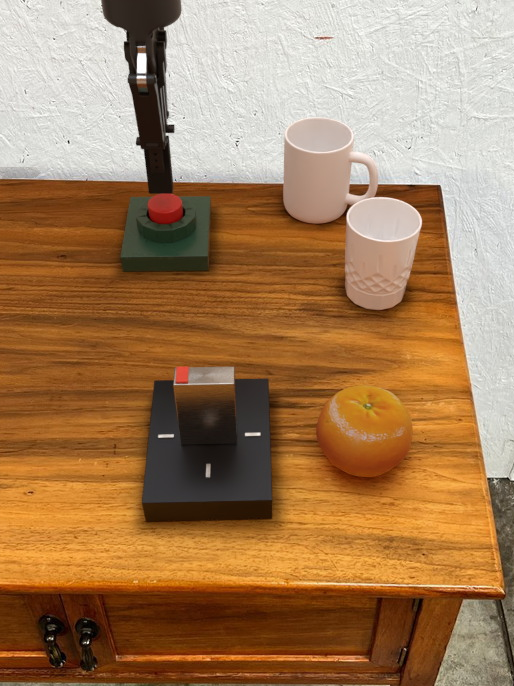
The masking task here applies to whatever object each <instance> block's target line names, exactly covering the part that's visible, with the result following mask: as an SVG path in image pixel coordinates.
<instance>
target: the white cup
mask: <svg viewBox="0 0 514 686" xmlns="http://www.w3.org/2000/svg"><path fill="white" fill-rule="evenodd" d="M345 221H346V222H345V245H344V246H345V248H344V273H345V278H344V279H345V280H344V281H345V282H344V288H345V293H346V296H347V297H348V299H350V301H351V302H352V303H354V304H355V305H357V306H359V307H361V308H363V309H366V310H374V311H383V310H387V309H392V308H394V307H395V306H396V305H398V304H399V303H401V302H402V300H403V298H404V295H405V293H406V289H407V285H408V281H409V279H410V276H411V271H412V268H413V264H414V260H415V256H416V251H417V247H418V243H419V238H420V235H421V230H422V225H423V218H422V216H421V214H420V212H419V211H418V210H417V209H416V208H415V207H414V206H412V205H411V204H409V203H407V202H406V201H403V200H401V199H397V198H393V197H386V196H384V197H383V196H376V197H375V196H374V198H368V199H364V200H361V201H359V202H357V203H355V204H354V205H351V206H350V207H349V209H347V212H346V220H345Z"/></svg>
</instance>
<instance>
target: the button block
mask: <svg viewBox="0 0 514 686" xmlns="http://www.w3.org/2000/svg"><path fill="white" fill-rule="evenodd" d="M152 197H153V196H130V197H129V204H128V209H127V215H126V219H125V220H126V221H125V226H124V233H123V238H122V243H121V244H122V245H121V251H120V256H119V258H120V264H121V270H122V272H123V273H125V272H128V273H129V272H130V273H131V272H202V271H205V272H207V271H208V272H209V269H210V250H211V231H212V230H211V229H212V228H211V227H212V199H211V195H200V196H199V195H198V196H197V195H196V196H193V195H192V196H191V195H189V196H188V195H187V196H185V195H184V196H178V197H179V198H180V199H181V200H182V207H183V217H182V218H181V220H180V221H177V222H175V223H172V224H157V223H155V222H152V221H151V219H150V218H149V211H148V201H149V200H150V199H151V198H152Z"/></svg>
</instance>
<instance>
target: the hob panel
mask: <svg viewBox="0 0 514 686" xmlns="http://www.w3.org/2000/svg"><path fill="white" fill-rule="evenodd" d="M269 381H270V380H269V378H235V388H236V411H237V444H194V445H181V439H180V432H179V424H178V417H177V409H176V402H175V394H174V386H173V382H174V379H160V380H159V379H158V380H157V379H156V380H153V390H152V399H151V408H150V409H151V410H150V419H149V427H148V428H149V429H148V438H147V446H146V447H147V448H146V457H145V467H144V477H143V485H142V494H141V495H142V496H141V506H142V511H143V517H144V521H145V523H164V522H165V523H166V522H169V523H170V522H204V521H205V522H207V521H209V522H210V521H211V522H212V521H250V520H251V521H253V520H273V501H274V500H273V477H272V476H273V473H272V472H273V471H272V444H271V442H272V441H271V412H270V411H271V410H270V387H269V386H270V382H269Z"/></svg>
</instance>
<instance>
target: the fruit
mask: <svg viewBox="0 0 514 686" xmlns="http://www.w3.org/2000/svg"><path fill="white" fill-rule="evenodd" d="M413 426H414V425H413V419H412V417H411V414H410V412H409V410H408V409H407V407H406V406H405V404H404V403H403V402H402V400H401V399H400V398H399V397H398V396H397V395H396V394H394V393H393V392H392V391H390V390H387V389H385V388H382V387H378V386H375V385H374V386H373V385H366V384H359V385H353V386H349V387H346V388H344V389H341V390H339V391H337V392H336V393H335V394H333V395H332V396H331V397H330V398H329V399H328V400H327V402H326V403H325V404H324V406H323V407H322V409H321V411H320V413H319V416H318V419H317V423H316V427H315V434H316V439H317V440H316V441H317V444H318V446H319V448H320V449H321V451H322V453H323V454H324V456H325V457H326V458H327V460H328V461H329V463H330V464H331V465H333V466H334V467H335V468H337V469H339V470H341V471H342V472H344V473H346V474H349V475H350V476H354V477H355V476H356V477H359V478H360V477H361V478H374V477H378V476H381V475H383V474H385V473H387V472H388V471H390V470H392V469H393V468H395V467H396V466H398V465H399V464H400V463H402V462H403V461H404V459H405V458H406V457H407V455H408V453H409V452H410V448H411V447H412V441H413V436H414V427H413Z"/></svg>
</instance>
